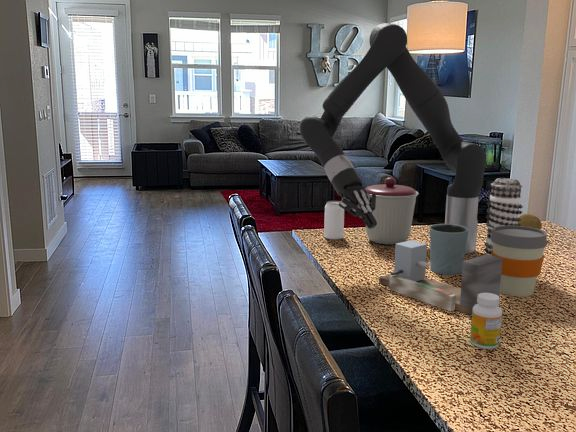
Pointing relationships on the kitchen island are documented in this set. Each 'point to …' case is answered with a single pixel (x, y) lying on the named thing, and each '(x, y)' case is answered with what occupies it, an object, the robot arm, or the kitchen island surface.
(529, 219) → the potato
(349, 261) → the kitchen island surface
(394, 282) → the track
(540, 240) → the reusable coffee cup
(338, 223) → the can
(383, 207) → the canister
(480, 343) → the supplement bottle
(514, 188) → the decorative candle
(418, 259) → the block
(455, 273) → the teal gray cup
